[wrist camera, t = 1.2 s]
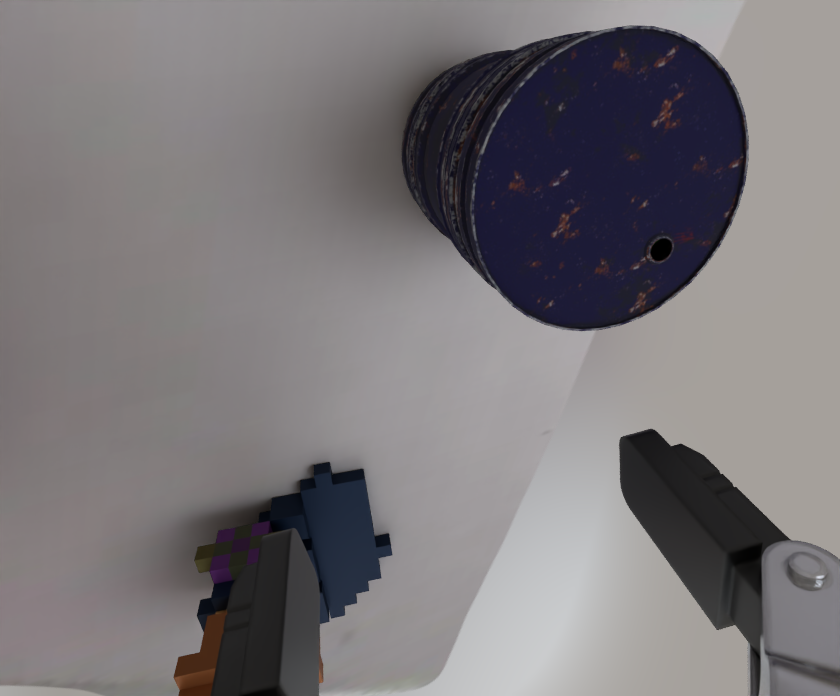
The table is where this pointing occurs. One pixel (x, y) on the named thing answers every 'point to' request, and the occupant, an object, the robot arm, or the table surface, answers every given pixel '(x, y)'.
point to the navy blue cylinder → (582, 170)
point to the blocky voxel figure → (325, 544)
